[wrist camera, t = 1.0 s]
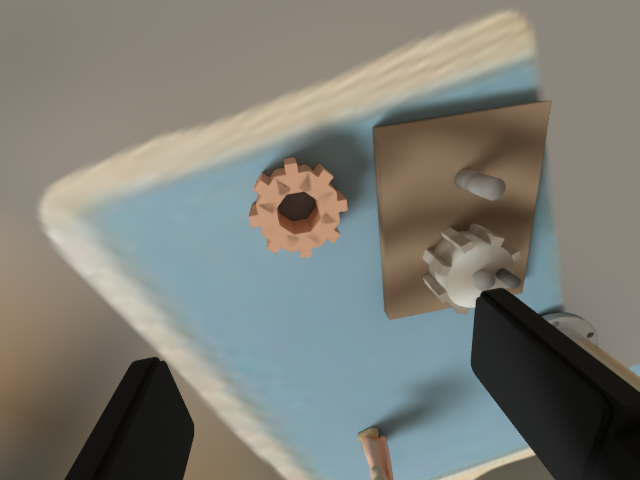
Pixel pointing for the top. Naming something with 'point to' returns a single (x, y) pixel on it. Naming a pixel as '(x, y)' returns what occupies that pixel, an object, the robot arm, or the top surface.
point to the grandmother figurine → (376, 454)
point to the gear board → (457, 205)
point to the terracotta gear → (304, 230)
